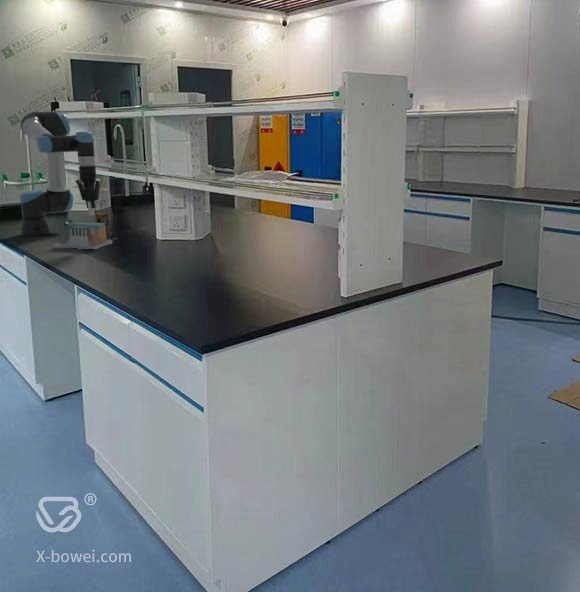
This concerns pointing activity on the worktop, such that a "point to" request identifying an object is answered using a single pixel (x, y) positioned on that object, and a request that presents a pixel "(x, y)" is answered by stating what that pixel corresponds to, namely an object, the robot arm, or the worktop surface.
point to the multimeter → (103, 220)
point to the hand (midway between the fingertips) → (91, 214)
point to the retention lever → (85, 225)
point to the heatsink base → (82, 237)
